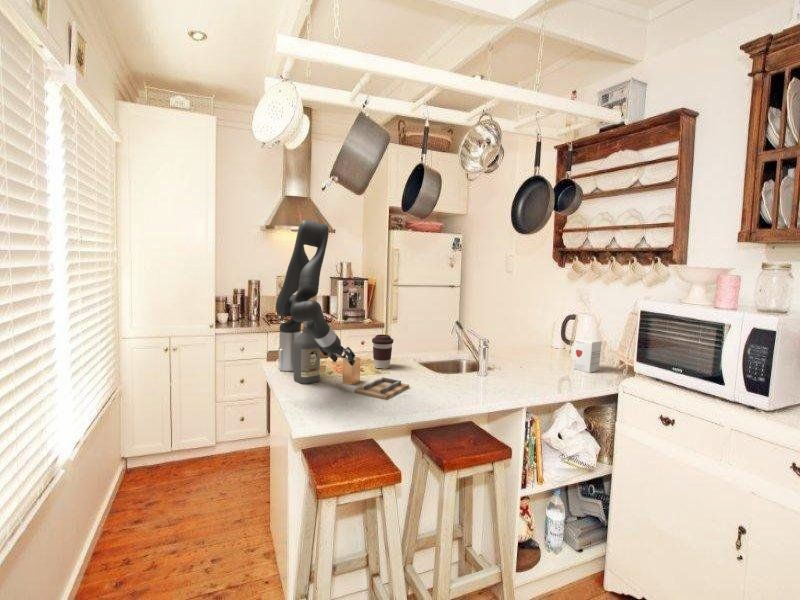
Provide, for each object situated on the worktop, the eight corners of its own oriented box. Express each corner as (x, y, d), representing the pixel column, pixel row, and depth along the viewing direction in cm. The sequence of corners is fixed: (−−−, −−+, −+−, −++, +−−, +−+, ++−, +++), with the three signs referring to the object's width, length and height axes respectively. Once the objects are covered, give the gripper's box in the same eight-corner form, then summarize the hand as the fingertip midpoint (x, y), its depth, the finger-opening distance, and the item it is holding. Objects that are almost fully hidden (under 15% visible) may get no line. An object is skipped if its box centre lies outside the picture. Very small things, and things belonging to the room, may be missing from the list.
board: (385, 399, 164) (386, 392, 163) (354, 392, 170) (354, 385, 170) (409, 387, 179) (409, 381, 179) (379, 381, 186) (379, 374, 186)
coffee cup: (372, 363, 212) (373, 333, 211) (392, 365, 212) (394, 334, 210) (370, 369, 203) (371, 337, 201) (391, 370, 202) (392, 338, 200)
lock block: (351, 385, 180) (352, 360, 178) (342, 382, 182) (343, 359, 180) (359, 381, 185) (360, 357, 184) (351, 379, 187) (351, 356, 186)
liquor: (291, 379, 183) (291, 307, 179) (309, 375, 189) (311, 306, 186) (303, 385, 177) (304, 310, 173) (322, 381, 183) (323, 309, 180)
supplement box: (572, 368, 219) (574, 338, 217) (582, 366, 224) (584, 337, 222) (589, 373, 211) (592, 342, 210) (599, 370, 217) (602, 340, 215)
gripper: (346, 332, 165) (363, 356, 176) (316, 328, 172) (334, 351, 183) (337, 349, 161) (355, 372, 172) (307, 343, 168) (326, 366, 179)
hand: (344, 361), depth 178 cm, fingers open, 8 cm apart
